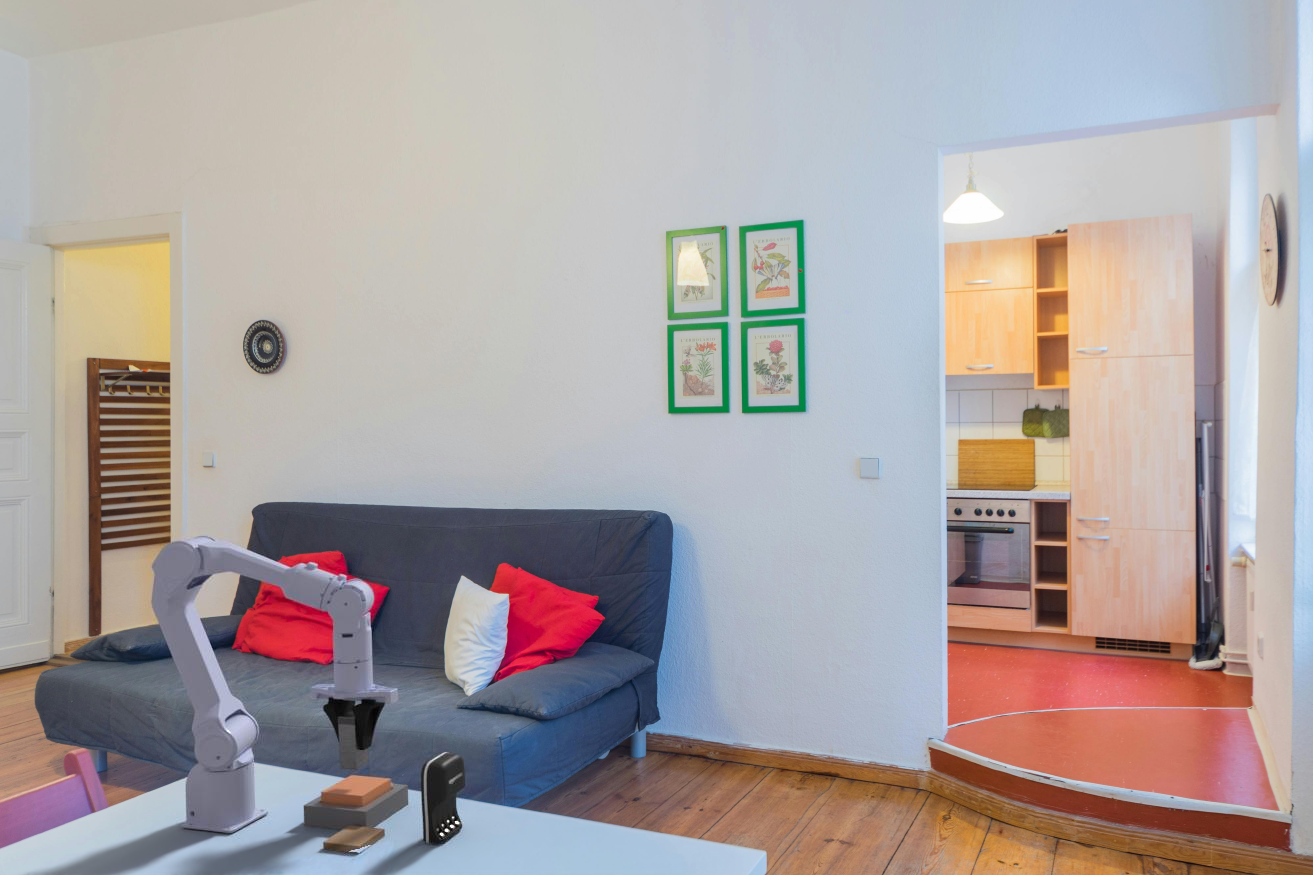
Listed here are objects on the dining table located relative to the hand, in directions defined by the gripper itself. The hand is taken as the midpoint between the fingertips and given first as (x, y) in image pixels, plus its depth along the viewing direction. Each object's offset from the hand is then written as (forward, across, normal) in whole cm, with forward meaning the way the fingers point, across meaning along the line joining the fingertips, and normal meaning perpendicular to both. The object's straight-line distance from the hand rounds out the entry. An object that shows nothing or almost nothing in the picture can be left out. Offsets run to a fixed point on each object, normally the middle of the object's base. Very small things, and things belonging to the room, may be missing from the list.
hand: (355, 747), depth 142 cm
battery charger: (+11, +18, -4) cm, 21 cm away
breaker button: (+8, 0, 0) cm, 8 cm away
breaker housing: (+10, 0, 0) cm, 10 cm away
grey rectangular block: (+3, 0, 0) cm, 3 cm away
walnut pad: (+10, +6, -9) cm, 15 cm away
